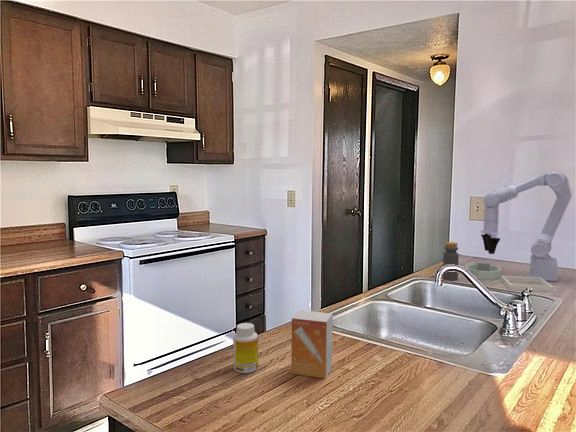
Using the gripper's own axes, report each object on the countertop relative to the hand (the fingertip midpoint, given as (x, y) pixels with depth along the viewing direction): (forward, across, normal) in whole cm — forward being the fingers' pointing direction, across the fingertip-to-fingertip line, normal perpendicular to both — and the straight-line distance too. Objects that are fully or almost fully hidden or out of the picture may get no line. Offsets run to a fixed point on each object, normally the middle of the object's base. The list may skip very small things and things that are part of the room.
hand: (489, 252), depth 202 cm
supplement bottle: (+9, +115, -75) cm, 138 cm away
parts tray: (+9, +22, +9) cm, 25 cm away
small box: (+9, +113, -60) cm, 128 cm away
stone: (+8, +8, -4) cm, 12 cm away
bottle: (+9, +16, -18) cm, 26 cm away
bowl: (+9, +8, -4) cm, 13 cm away
